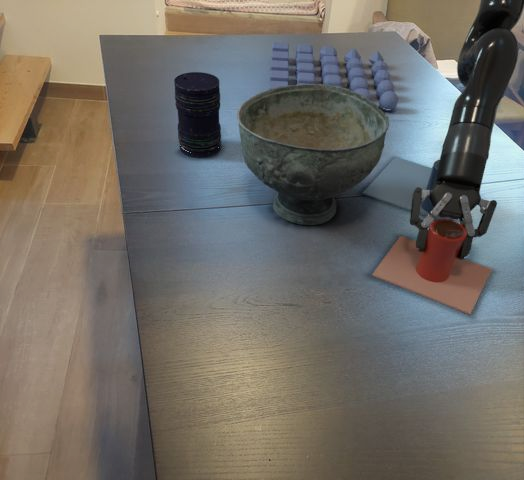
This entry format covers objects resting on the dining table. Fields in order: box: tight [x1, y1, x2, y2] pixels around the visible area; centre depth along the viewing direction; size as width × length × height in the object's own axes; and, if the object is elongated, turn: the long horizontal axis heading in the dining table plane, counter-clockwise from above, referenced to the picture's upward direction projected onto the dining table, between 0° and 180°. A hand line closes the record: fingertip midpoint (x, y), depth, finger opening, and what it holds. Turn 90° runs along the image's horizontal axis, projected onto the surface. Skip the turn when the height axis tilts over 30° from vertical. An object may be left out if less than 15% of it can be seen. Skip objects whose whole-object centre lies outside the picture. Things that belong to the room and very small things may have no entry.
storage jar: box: [173, 71, 222, 159], centre depth 114 cm, size 10×10×15 cm
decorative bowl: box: [236, 83, 390, 226], centre depth 98 cm, size 26×26×20 cm
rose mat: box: [371, 235, 493, 316], centre depth 93 cm, size 18×14×1 cm
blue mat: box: [362, 156, 452, 220], centre depth 112 cm, size 19×19×1 cm
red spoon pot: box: [416, 219, 467, 282], centre depth 89 cm, size 6×6×9 cm
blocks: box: [268, 41, 399, 112], centre depth 146 cm, size 35×34×5 cm
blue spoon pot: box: [421, 159, 440, 213], centre depth 103 cm, size 6×6×9 cm
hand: (440, 254), depth 88 cm, fingers closed on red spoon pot, 6 cm apart
